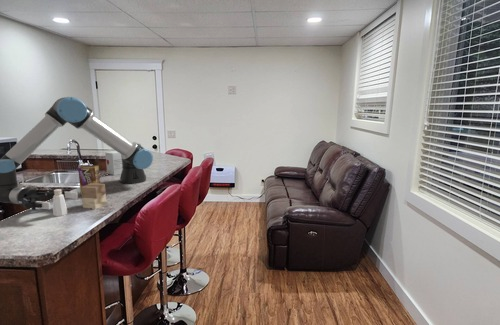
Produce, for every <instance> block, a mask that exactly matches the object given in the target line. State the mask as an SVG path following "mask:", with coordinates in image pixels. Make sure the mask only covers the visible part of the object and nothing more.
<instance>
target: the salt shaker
mask: <svg viewBox="0 0 500 325" xmlns="http://www.w3.org/2000/svg"><path fill="white" fill-rule="evenodd" d="M62 190H63V189H61V188H57V189H54V194H55V195H54V196H53V198H52V215H53V217H63V216H66V215H68V208H67V205H66V200H65V199H66V198H65V197H64V196H63V194H62V192H61V191H62Z"/></svg>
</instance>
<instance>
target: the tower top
mask: <svg viewBox="0 0 500 325" xmlns="http://www.w3.org/2000/svg"><path fill="white" fill-rule="evenodd" d="M81 191H82V195H81V199H82V198H99V197H101V196H103V195H105V194H106V195H107V193H106V184H105V183H100V184H99V183H90V184H88V185H85V186H83V187H81V190H80V192H81Z"/></svg>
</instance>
